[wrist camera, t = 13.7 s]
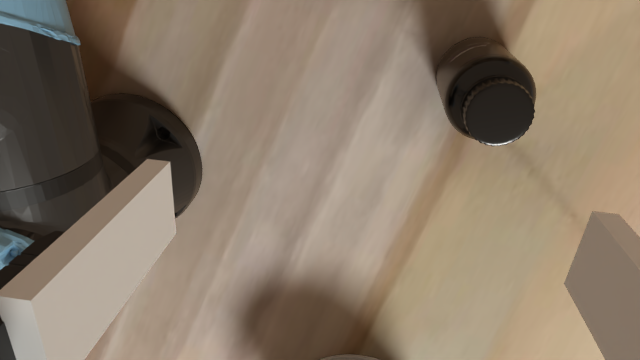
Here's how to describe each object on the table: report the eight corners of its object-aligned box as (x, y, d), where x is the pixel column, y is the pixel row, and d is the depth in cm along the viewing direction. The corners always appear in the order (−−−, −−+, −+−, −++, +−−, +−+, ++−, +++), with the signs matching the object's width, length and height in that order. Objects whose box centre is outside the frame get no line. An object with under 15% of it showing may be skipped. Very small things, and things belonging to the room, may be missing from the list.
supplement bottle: (462, 21, 41) (490, 47, 31) (526, 58, 42) (575, 95, 31) (420, 88, 44) (432, 132, 34) (480, 121, 45) (511, 174, 34)
